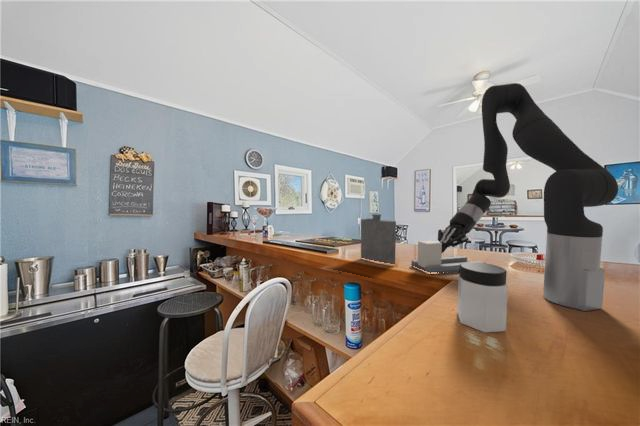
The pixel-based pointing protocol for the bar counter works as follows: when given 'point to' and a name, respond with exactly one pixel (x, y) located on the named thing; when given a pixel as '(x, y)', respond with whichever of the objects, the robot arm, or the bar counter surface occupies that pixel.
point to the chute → (444, 265)
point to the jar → (482, 296)
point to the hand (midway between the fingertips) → (437, 252)
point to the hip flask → (378, 239)
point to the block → (429, 253)
